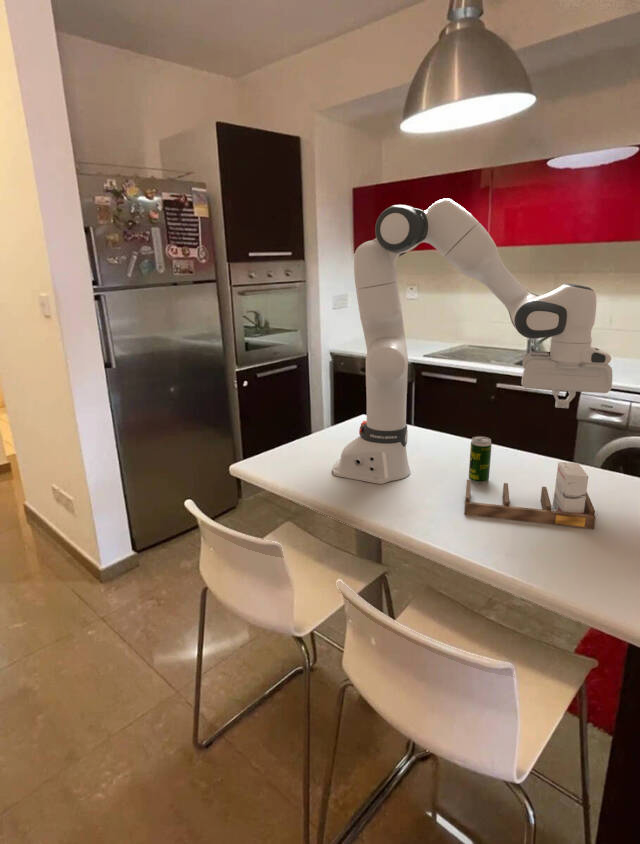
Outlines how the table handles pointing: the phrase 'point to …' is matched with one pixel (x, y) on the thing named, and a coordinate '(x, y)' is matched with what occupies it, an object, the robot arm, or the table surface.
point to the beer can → (480, 460)
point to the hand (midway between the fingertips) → (561, 407)
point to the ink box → (570, 488)
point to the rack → (531, 511)
